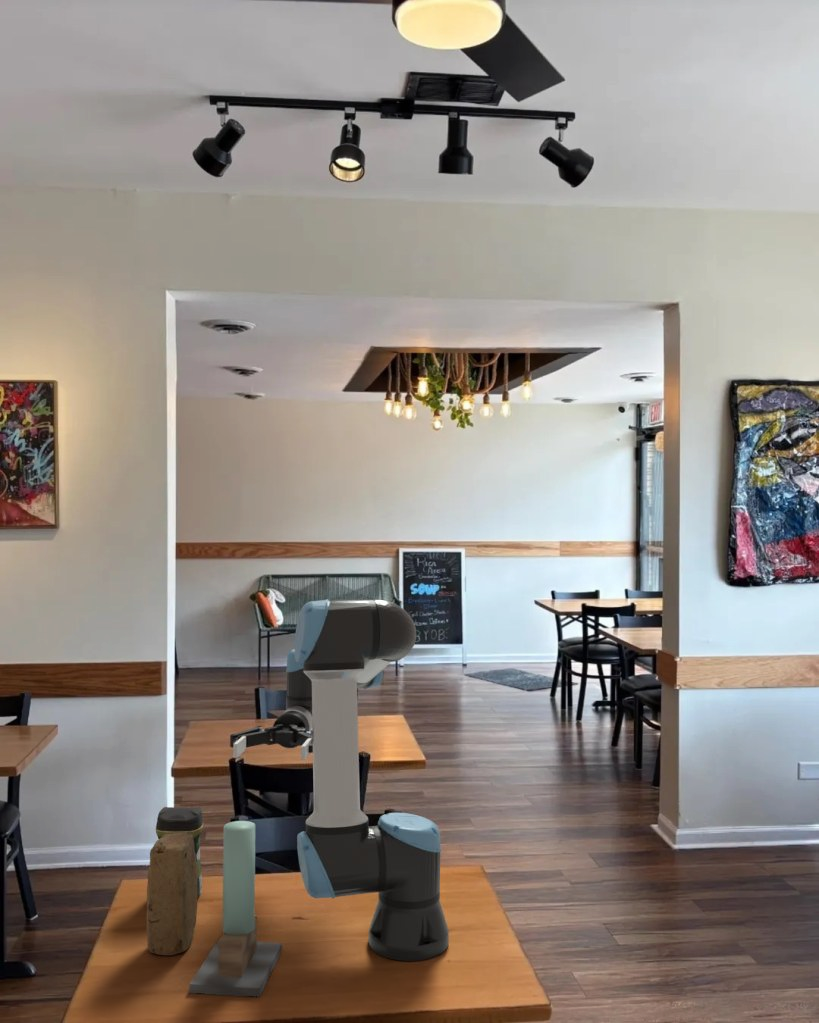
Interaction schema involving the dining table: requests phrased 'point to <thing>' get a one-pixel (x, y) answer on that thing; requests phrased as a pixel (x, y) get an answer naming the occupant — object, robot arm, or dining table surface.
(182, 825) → the coffee jar
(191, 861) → the block
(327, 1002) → the dining table surface
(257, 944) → the ridge stand
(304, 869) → the robot arm
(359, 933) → the dining table surface
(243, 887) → the cylinder
